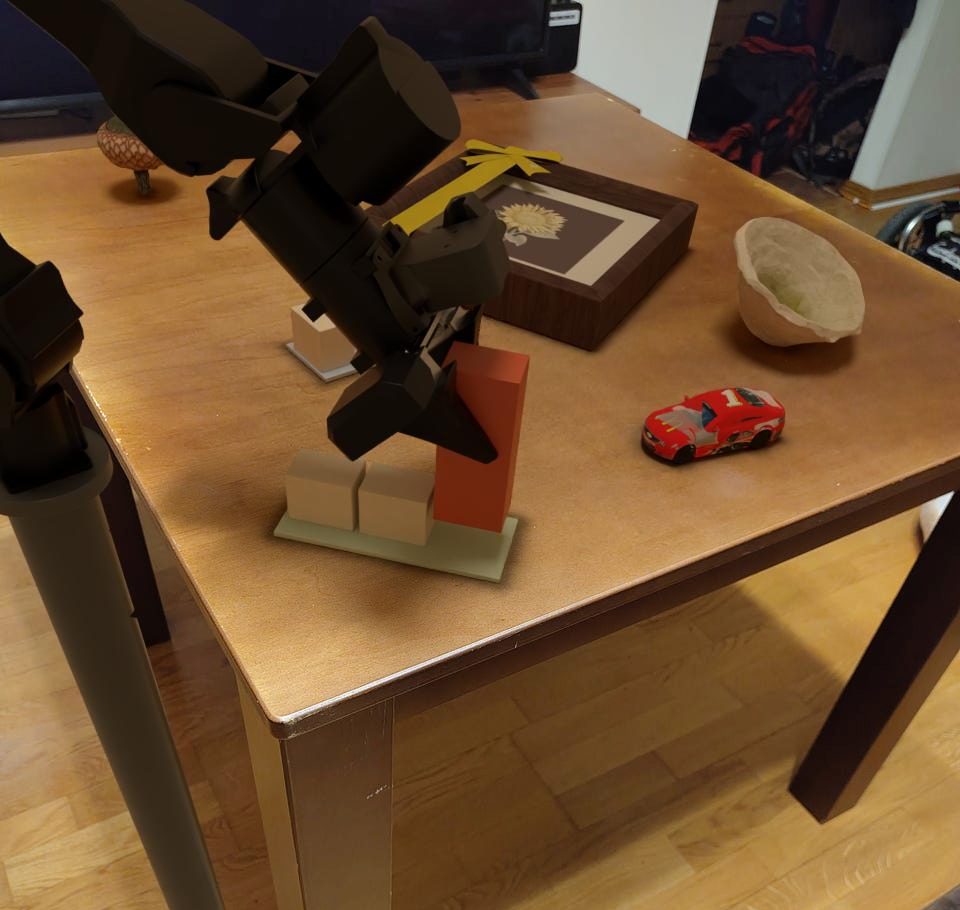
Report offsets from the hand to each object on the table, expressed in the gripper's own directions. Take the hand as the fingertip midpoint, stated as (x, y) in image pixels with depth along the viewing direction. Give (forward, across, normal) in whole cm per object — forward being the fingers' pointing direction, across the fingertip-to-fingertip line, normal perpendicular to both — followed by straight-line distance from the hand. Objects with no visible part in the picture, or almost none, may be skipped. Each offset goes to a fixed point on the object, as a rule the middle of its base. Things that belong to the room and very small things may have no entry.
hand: (498, 443), depth 59 cm
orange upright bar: (+3, 0, +5) cm, 6 cm away
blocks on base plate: (-5, +26, +18) cm, 32 cm away
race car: (+18, +20, -4) cm, 27 cm away
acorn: (-30, +48, +43) cm, 71 cm away
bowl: (+22, +40, -9) cm, 47 cm away
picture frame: (+2, +49, +11) cm, 50 cm away
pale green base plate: (+2, 0, +11) cm, 12 cm away
